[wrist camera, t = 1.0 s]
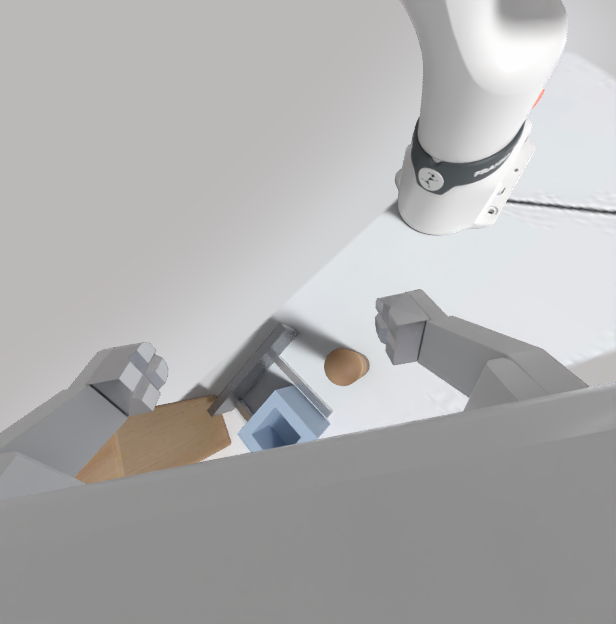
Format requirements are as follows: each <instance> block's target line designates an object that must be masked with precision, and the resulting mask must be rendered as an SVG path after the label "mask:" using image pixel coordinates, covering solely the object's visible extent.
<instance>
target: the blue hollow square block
mask: <svg viewBox="0 0 616 624" xmlns="http://www.w3.org/2000/svg"><path fill="white" fill-rule="evenodd" d="M329 425H330V423H329V422H328V421H327V420H326V419H325V418H324V417H323V416H322V415H321V414H320V412H319V411H318V410H317V409H316V408H315V407H314V406H313V405H312V404H311V403H310V402H309V401H308V400H307V399H306V397H305V396H304V395H303V394H302V393H301V392H300V391H299V390H298V389H297V388H296V387H295V386H294V385H292V386H289V387H285V388H281V389H277V390H275V391H274V392H273V393H272V394H271V395H270V397H269V398H268V399H267V400H266V401H265V402H264V403H263V405H262V406H261V407H260V408H259V409H258V410H257V412H256V413H255V414H254V415H253V416H252V417H251V419H250V420H249V421H248V422H247V423H246V424H245V426H244V427H243V428H242V429H241V430H240V431H239V433H238V436H239V437H240V438H241V440H242V441H243V442H244V444H245V445H246V446H247V448H248V449H249V450H250V452H256V451H261V450H266V449H271V448H276V447H282V446H287V445H292V444H297V443H302V442H308V441H313V440H317V439H318V437H319V436H320V435H321V434H322V433H323V432H324V430H325V429H326V428H327V427H328V426H329Z"/></svg>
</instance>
